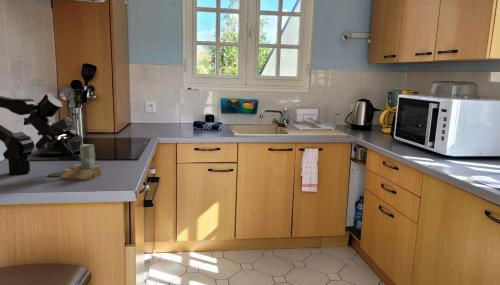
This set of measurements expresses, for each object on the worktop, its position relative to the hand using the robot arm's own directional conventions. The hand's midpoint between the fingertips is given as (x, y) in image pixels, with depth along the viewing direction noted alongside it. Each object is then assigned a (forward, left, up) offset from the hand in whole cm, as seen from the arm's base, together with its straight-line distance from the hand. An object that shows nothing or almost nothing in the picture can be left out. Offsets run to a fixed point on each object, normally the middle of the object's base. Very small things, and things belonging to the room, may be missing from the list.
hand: (73, 155), depth 145 cm
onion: (+6, +18, -8) cm, 21 cm away
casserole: (-4, +51, -8) cm, 52 cm away
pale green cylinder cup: (+5, -3, -8) cm, 10 cm away
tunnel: (+3, -2, -8) cm, 8 cm away
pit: (-6, +2, -8) cm, 10 cm away
